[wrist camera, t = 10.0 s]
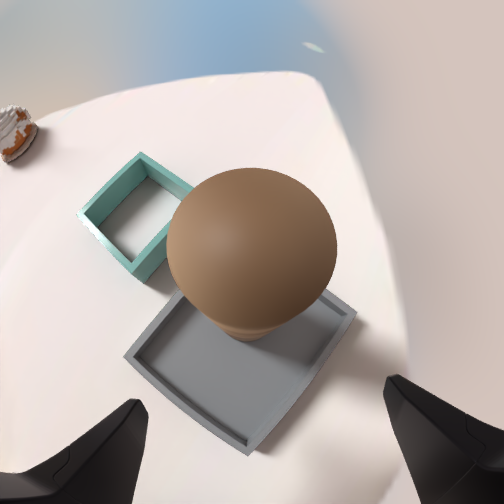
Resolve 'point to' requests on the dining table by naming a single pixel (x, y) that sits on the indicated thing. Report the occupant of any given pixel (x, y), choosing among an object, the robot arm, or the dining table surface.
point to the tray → (237, 366)
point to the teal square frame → (116, 194)
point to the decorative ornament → (15, 132)
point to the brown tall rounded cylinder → (251, 250)
